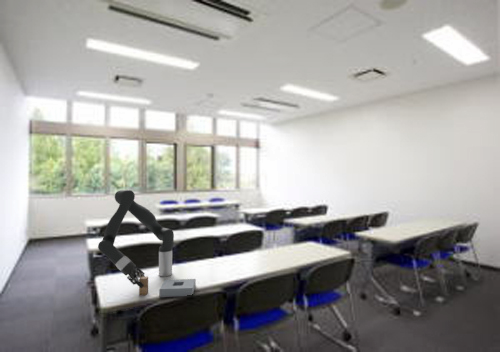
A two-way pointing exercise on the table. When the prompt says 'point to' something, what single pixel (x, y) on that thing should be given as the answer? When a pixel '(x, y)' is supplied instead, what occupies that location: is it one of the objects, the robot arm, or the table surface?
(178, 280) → the dock socket
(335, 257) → the table surface
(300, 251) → the table surface
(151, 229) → the robot arm
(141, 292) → the walnut peg
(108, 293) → the table surface
